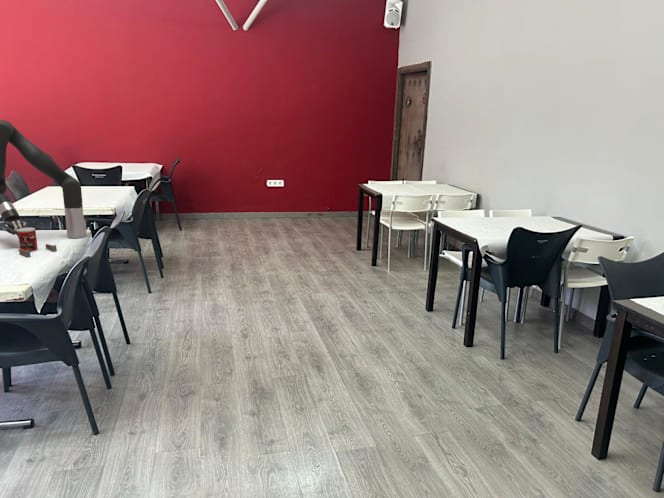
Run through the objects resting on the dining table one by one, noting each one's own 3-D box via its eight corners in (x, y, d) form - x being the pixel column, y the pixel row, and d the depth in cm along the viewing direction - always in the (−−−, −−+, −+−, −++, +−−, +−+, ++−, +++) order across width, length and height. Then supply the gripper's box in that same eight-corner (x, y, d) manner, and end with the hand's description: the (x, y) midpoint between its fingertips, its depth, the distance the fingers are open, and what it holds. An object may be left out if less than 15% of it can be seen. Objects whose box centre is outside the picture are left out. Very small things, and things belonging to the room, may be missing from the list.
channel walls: (48, 248, 262) (47, 243, 261) (54, 250, 259) (54, 246, 258) (19, 254, 250) (18, 249, 250) (25, 256, 247) (25, 251, 247)
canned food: (18, 252, 254) (15, 231, 251) (23, 247, 261) (20, 227, 258) (35, 251, 256) (32, 230, 253) (39, 247, 263) (37, 227, 260)
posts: (55, 250, 259) (54, 244, 258) (56, 251, 258) (56, 245, 258) (25, 256, 247) (24, 251, 246) (26, 257, 246) (26, 251, 245)
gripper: (-4, 210, 255) (11, 237, 252) (23, 206, 266) (38, 233, 263) (-8, 218, 259) (7, 245, 256) (19, 215, 270) (34, 241, 267)
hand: (23, 239), depth 259 cm, fingers closed
